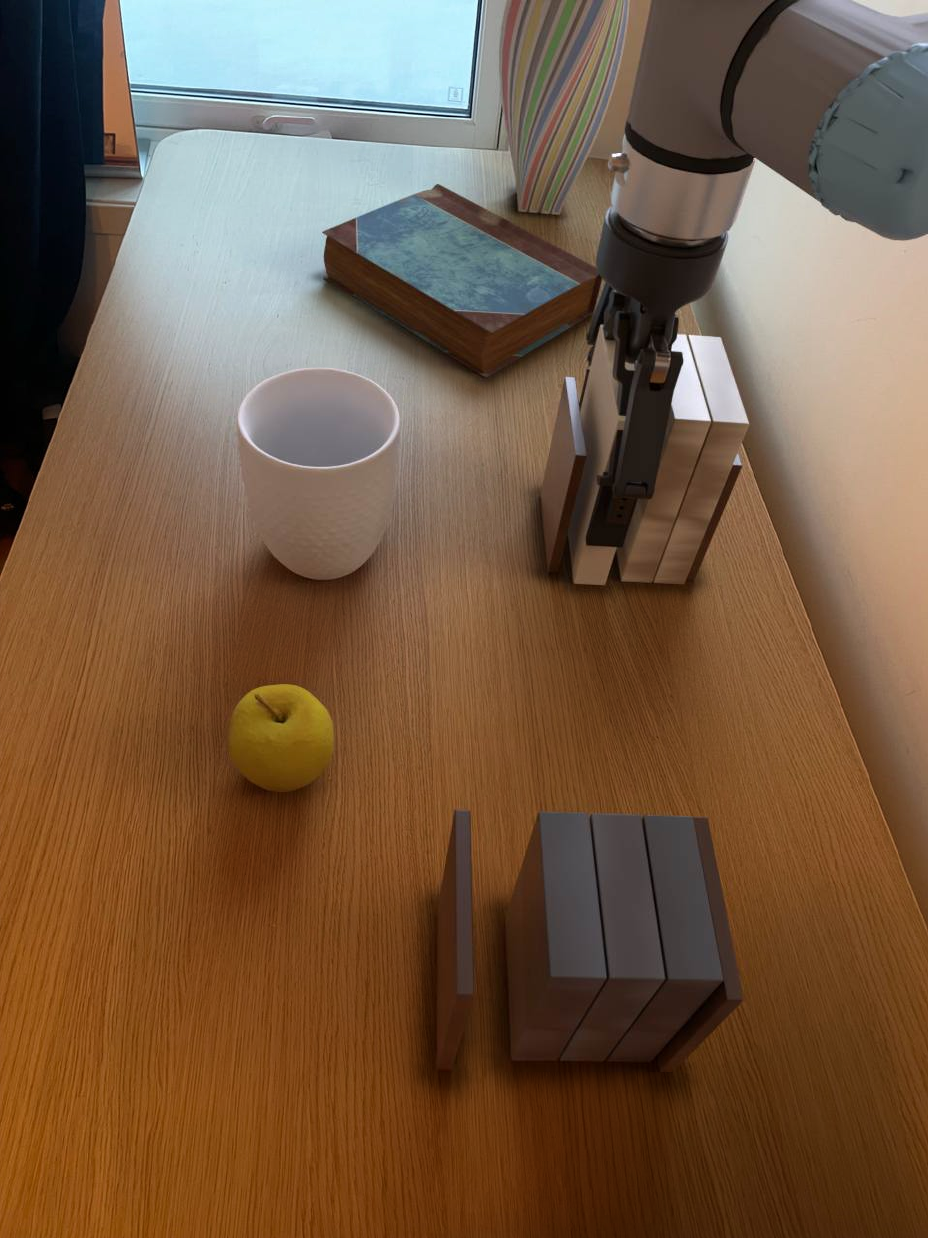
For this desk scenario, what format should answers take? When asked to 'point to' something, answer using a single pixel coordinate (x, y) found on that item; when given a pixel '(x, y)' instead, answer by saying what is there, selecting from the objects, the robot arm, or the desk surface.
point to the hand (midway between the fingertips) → (595, 488)
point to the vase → (556, 89)
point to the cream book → (595, 461)
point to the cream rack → (661, 470)
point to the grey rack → (597, 940)
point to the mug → (319, 467)
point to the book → (461, 277)
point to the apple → (280, 737)
